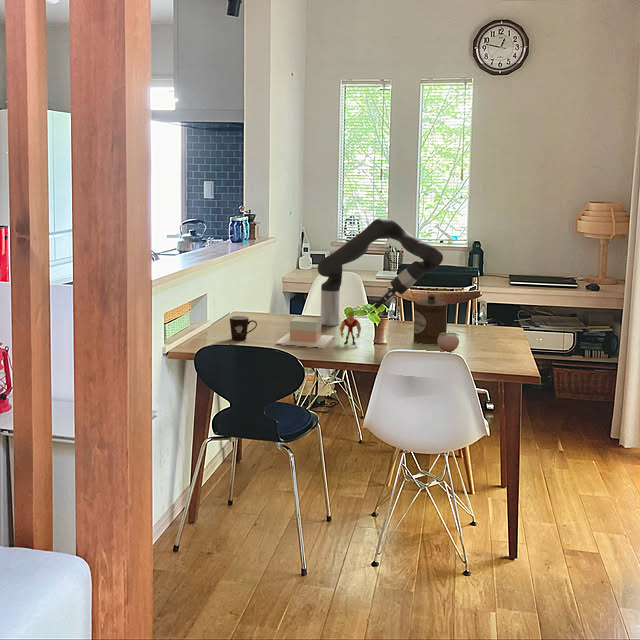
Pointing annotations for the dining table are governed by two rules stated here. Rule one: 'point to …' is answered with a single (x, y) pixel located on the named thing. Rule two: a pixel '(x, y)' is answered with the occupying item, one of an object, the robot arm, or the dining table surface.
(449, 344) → the decorative fruit
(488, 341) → the dining table surface
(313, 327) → the two-tone green pink block
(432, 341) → the wooden container
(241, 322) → the coffee mug
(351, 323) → the action figure
